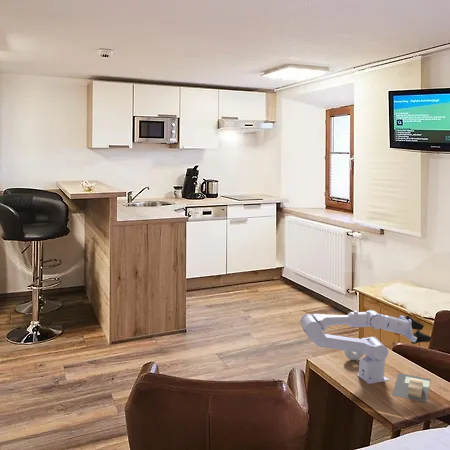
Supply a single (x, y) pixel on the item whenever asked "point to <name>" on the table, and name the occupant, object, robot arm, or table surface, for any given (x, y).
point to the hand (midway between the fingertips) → (426, 333)
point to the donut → (353, 354)
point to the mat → (403, 384)
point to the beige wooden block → (415, 387)
